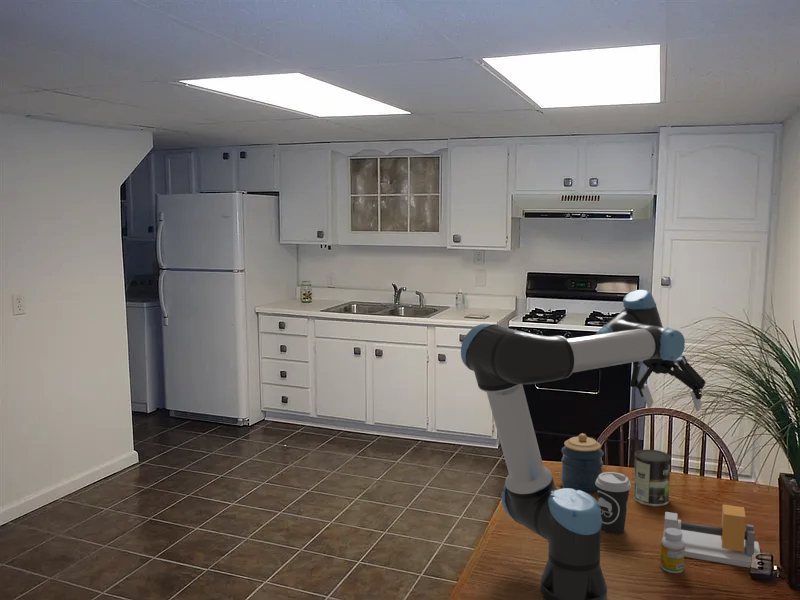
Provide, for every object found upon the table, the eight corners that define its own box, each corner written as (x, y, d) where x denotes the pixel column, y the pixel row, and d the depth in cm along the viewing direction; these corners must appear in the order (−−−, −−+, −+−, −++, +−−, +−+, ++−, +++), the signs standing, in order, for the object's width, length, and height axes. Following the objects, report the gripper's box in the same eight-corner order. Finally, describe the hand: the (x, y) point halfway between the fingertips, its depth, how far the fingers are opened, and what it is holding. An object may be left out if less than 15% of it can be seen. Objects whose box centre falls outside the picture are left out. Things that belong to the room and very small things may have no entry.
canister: (554, 480, 225) (555, 428, 222) (591, 477, 227) (592, 425, 225) (571, 497, 212) (572, 442, 210) (610, 493, 215) (611, 439, 212)
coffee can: (671, 496, 212) (673, 452, 209) (665, 509, 203) (667, 463, 201) (637, 489, 217) (638, 446, 215) (629, 502, 208) (630, 457, 206)
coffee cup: (632, 538, 186) (633, 485, 184) (595, 535, 188) (596, 483, 186) (627, 522, 195) (629, 472, 193) (592, 519, 197) (594, 469, 195)
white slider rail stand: (762, 569, 169) (763, 540, 168) (662, 552, 178) (663, 524, 177) (757, 547, 180) (759, 519, 179) (664, 532, 189) (665, 505, 188)
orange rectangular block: (743, 551, 173) (745, 517, 172) (721, 548, 175) (723, 514, 174) (742, 540, 179) (744, 507, 177) (720, 537, 180) (722, 504, 179)
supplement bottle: (660, 560, 174) (661, 524, 173) (683, 564, 172) (685, 528, 171) (660, 571, 169) (661, 534, 168) (683, 575, 167) (685, 538, 166)
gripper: (704, 334, 178) (724, 399, 185) (614, 336, 195) (636, 396, 202) (695, 351, 173) (716, 417, 180) (604, 351, 190) (627, 412, 198)
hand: (674, 406), depth 191 cm, fingers open, 13 cm apart
